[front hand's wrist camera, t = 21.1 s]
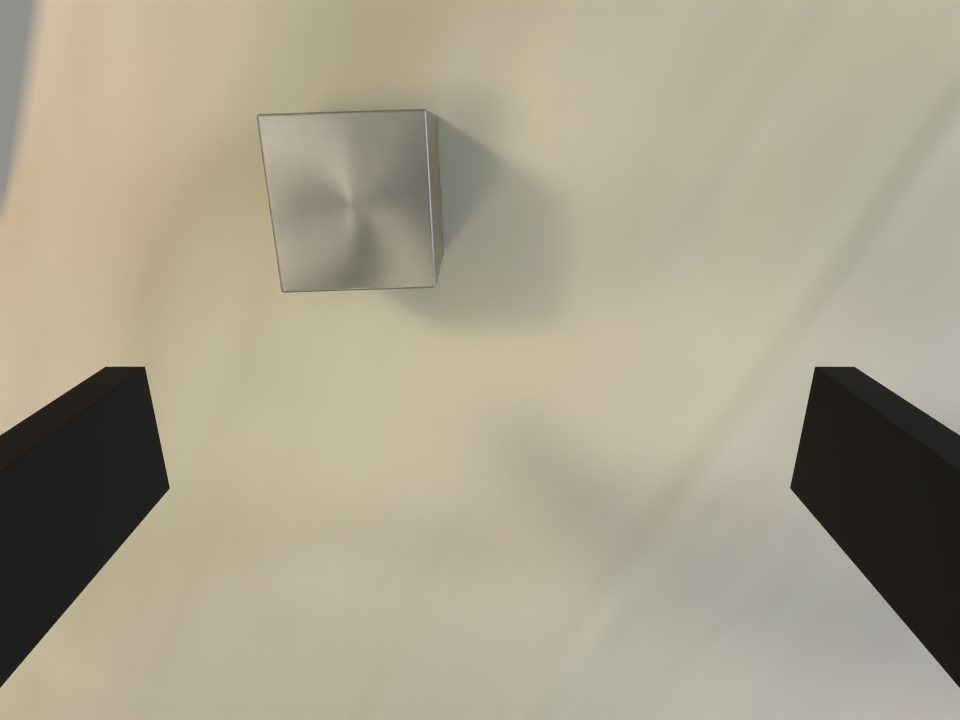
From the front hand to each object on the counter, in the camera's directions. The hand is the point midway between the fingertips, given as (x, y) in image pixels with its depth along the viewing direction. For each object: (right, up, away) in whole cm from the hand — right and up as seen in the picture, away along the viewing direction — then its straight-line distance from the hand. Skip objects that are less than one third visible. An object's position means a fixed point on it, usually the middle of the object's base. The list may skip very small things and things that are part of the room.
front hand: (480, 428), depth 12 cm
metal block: (-3, +7, +7) cm, 10 cm away
